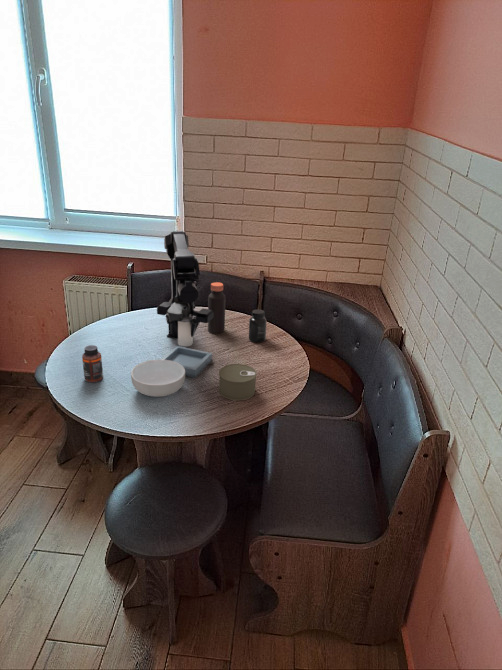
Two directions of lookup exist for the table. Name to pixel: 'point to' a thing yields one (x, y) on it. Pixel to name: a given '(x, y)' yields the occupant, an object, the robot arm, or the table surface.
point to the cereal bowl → (158, 377)
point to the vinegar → (217, 308)
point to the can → (237, 382)
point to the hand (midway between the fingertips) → (185, 335)
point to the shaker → (185, 332)
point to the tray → (189, 359)
